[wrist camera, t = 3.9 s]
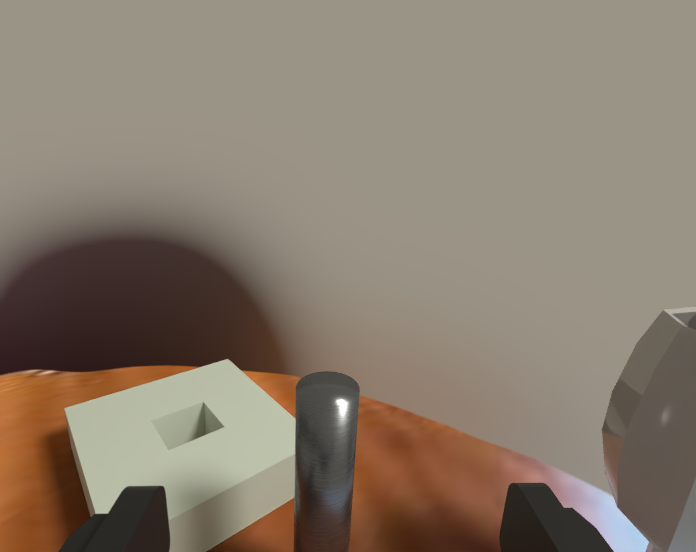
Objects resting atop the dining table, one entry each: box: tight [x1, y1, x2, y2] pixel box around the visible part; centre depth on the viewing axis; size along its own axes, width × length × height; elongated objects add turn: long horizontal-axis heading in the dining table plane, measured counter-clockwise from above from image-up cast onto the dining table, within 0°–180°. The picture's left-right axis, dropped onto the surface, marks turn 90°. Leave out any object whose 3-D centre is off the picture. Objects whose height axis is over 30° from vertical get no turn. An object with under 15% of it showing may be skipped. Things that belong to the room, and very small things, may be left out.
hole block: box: [64, 359, 296, 552], centre depth 36 cm, size 16×18×4 cm
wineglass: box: [602, 307, 696, 552], centre depth 22 cm, size 9×9×21 cm
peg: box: [294, 372, 359, 552], centre depth 23 cm, size 3×3×16 cm
